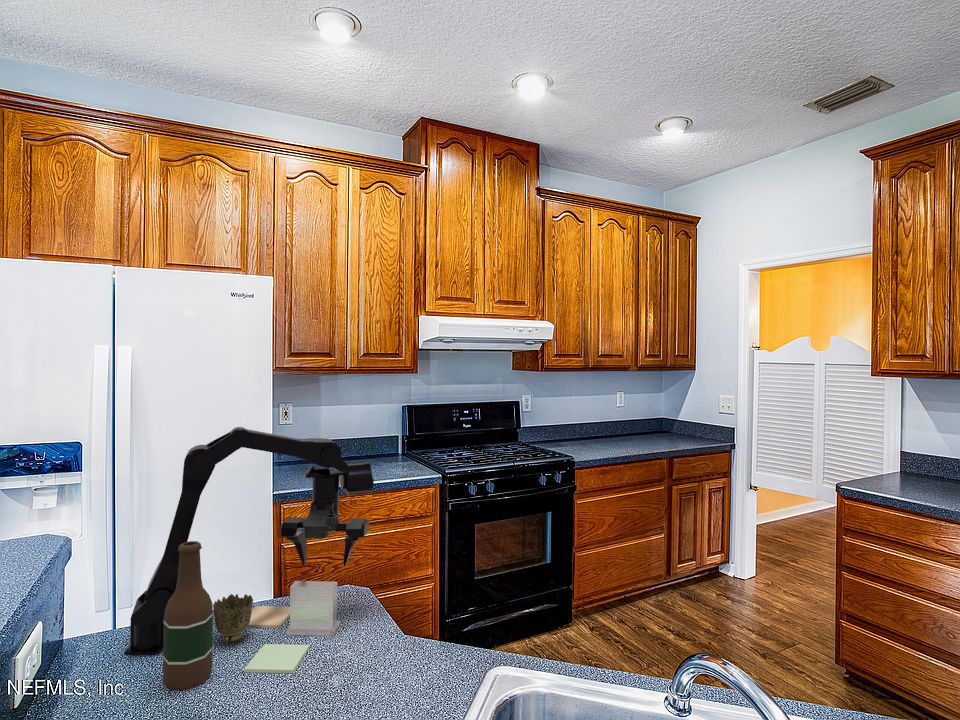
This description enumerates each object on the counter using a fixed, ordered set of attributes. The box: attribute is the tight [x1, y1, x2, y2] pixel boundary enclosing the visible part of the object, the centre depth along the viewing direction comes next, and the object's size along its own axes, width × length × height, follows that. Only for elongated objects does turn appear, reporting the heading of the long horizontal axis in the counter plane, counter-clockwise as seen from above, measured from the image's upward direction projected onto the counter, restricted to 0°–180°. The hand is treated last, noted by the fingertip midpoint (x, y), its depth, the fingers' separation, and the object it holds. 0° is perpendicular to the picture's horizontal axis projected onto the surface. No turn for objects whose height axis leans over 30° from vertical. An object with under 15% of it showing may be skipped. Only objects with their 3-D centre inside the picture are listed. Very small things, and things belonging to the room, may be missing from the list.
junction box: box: [285, 580, 342, 637], centre depth 116 cm, size 10×5×10 cm, turn 89°
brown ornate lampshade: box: [212, 593, 254, 644], centre depth 111 cm, size 8×7×8 cm
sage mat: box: [243, 643, 311, 674], centre depth 104 cm, size 9×9×1 cm
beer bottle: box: [162, 540, 214, 691], centre depth 98 cm, size 8×8×24 cm
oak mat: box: [247, 605, 290, 629], centre depth 121 cm, size 9×9×1 cm
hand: (324, 565), depth 123 cm, fingers open, 9 cm apart
